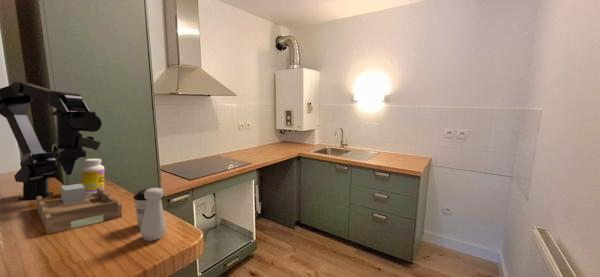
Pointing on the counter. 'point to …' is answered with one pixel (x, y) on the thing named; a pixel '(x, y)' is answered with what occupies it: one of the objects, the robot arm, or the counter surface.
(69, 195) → the block
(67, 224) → the wooden tray
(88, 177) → the supplement bottle
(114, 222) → the counter surface
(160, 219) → the salt shaker
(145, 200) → the coffee cup
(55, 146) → the robot arm
